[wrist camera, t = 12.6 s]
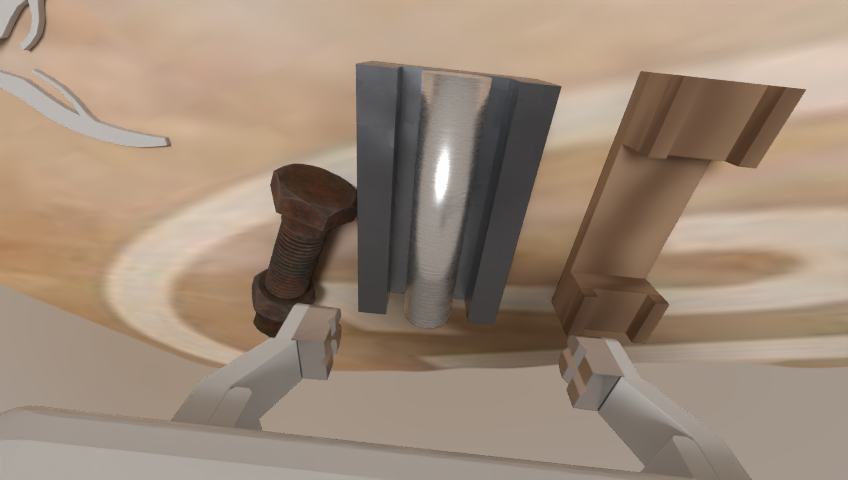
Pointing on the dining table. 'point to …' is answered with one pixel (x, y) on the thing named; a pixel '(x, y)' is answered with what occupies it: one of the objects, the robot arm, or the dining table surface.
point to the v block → (491, 194)
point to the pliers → (60, 87)
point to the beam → (658, 191)
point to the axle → (442, 190)
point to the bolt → (299, 239)
